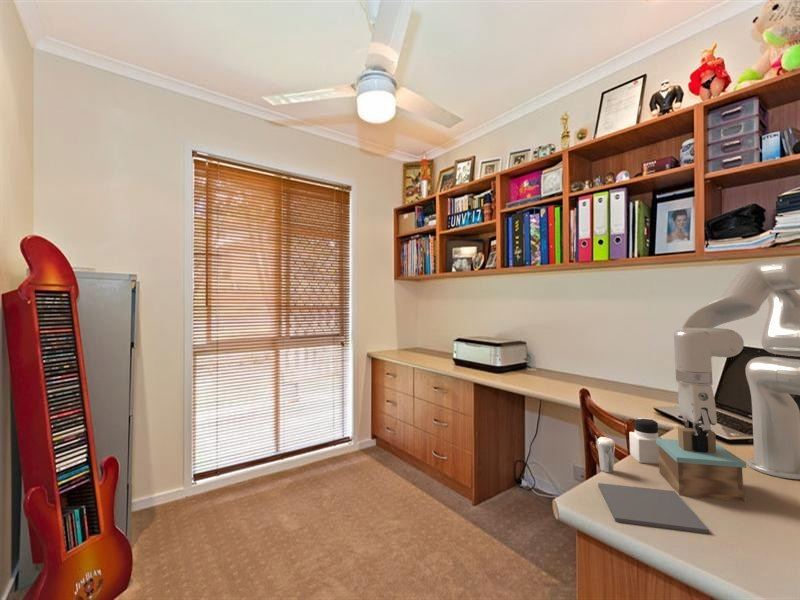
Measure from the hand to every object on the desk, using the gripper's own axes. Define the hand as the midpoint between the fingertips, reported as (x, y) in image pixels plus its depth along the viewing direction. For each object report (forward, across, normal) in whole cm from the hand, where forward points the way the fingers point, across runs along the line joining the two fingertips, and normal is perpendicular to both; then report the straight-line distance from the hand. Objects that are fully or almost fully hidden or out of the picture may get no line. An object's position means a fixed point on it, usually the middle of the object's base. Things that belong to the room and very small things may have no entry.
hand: (696, 447), depth 97 cm
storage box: (+10, 0, 0) cm, 10 cm away
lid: (+2, 0, 0) cm, 2 cm away
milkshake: (+10, +4, +21) cm, 23 cm away
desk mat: (+10, -15, +16) cm, 24 cm away
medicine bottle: (+10, +16, +7) cm, 20 cm away
